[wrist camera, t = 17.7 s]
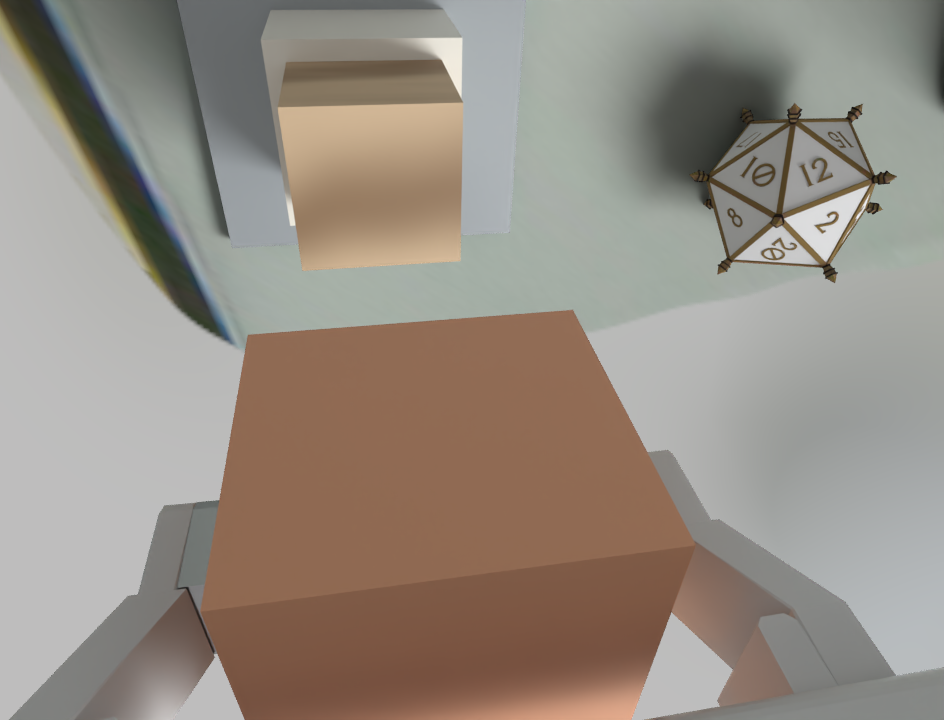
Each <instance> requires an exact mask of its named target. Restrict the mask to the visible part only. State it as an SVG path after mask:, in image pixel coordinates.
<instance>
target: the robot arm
mask: <svg viewBox="0 0 944 720" xmlns="http://www.w3.org/2000/svg"><path fill="white" fill-rule="evenodd" d="M647 453H648V455H649V456H650V458H651V460H652V462H653V464H654V466H655V468H656V470H657V472H658V474H659V475H660V477H661V479H662V481H663V483H664V485H665V487H666V489H667V491H668V493H669V495H670V496H671V498H672V500H673V502H674V504H675V506H676V508H677V510H678V512H679V514H680V516H681V517H682V519H683V521H684V523H685V525H686V527H687V529H688V531H689V533H690V535H691V537H692V538H693V540H694V542H695V544H696V547H695V550H694V552H693V555H692V558H691V560H690V563H689V566H688V568H687V571H686V574H685V576H684V579H683V582H682V585H681V587H680V590H679V593H678V595H677V598H676V601H675V603H674V606H673V609H672V611H671V612H672V613H673V614H674V615H675V616H676V617H677V618H678V619H679V620H680V621H682V622H683V623H684V624H685V625H686V626H687V627H688V628H689V629H690V630H691V631H692V632H693V633H695V635H697V636H698V637H699V638H700V639H701V640H702V641H703V642H704V643H705V644H706V645H707V646H708V647H709V648H711V649H712V650H713V651H714V652H715V653H716V654H717V655H718V656H719V657H720V658H721V659H722V660H723V661H724V662H725V663H726V664H728V665H729V666H730V667H731V668H732V669H733V671H732V673H731V675H730V677H729V679H728V681H727V683H726V685H725V686H724V688H723V690H722V692H721V694H720V697H719V698H718V703H719V705H720V707H715V708H709V709H704V710H698V711H692V712H686V713H681V714H675V715H670V716H663V717H658V718H653V719H646V720H944V667H943V668H937V669H931V670H926V671H920V672H914V673H909V674H903V675H897V676H896V675H895V674H894V672H893V671H892V670H891V668H890V666H889V665H888V663H887V662H886V660H885V659H884V657H883V656H882V655H881V653H880V652H879V650H878V649H877V647H876V646H875V644H874V643H873V641H872V640H871V639H870V637H869V636H868V634H867V633H866V631H865V630H864V628H863V627H862V625H861V624H860V622H859V621H858V620H857V618H856V617H855V615H854V614H853V612H852V611H851V609H850V608H849V607H848V605H847V604H846V602H845V601H843V600H842V599H840V598H839V597H837V596H835V595H834V594H832V593H831V592H829V591H828V590H826V589H825V588H823V587H821V586H820V585H819V584H817V583H816V582H814V581H812V580H811V579H809V578H808V577H806V576H805V575H803V574H802V573H800V572H799V571H797V570H796V569H794V568H793V567H791V566H790V565H788V564H786V563H785V562H784V561H782V560H781V559H779V558H777V557H776V556H774V555H773V554H771V553H770V552H768V551H767V550H765V549H764V548H762V547H761V546H759V545H758V544H756V543H755V542H753V541H752V540H750V539H748V538H747V537H745V536H744V535H742V534H741V533H739V532H738V531H736V530H735V529H733V528H732V527H730V526H728V525H727V524H725V523H724V522H723V521H721V520H719V519H718V520H711V519H710V517H709V515H708V513H707V512H706V510H705V508H704V507H703V505H702V503H701V501H700V500H699V498H698V496H697V495H696V493H695V491H694V489H693V488H692V486H691V484H690V483H689V481H688V479H687V477H686V476H685V474H684V472H683V470H682V469H681V467H680V465H679V464H678V462H677V460H676V458H675V457H674V455H673V454H672V453H671V452H670V451H668V450H664V451H655V452H647ZM218 505H219V500H218V501H206V502H197V503H188V504H178V505H166V506H164V507H163V509H162V511H161V512H160V513H159V516H158V519H157V523H156V528H155V531H154V535H153V539H152V542H151V546H150V550H149V554H148V558H147V562H146V565H145V569H144V573H143V577H142V581H141V585H140V589H139V592H138V595H131V596H128V597H127V598H126V599H125V600H124V601H123V602H122V603H121V604H120V605H119V606H118V607H117V608H116V609H115V610H114V611H113V612H112V613H111V614H110V615H109V616H108V617H107V619H105V620H104V622H103V623H102V624H101V625H100V626H99V627H98V628H97V629H96V630H95V631H94V632H93V633H92V634H91V635H90V636H89V637H88V638H87V639H86V640H85V641H84V642H83V643H82V644H81V646H80V647H79V648H78V649H77V650H76V651H75V652H74V653H73V654H72V655H71V656H70V657H69V658H68V659H67V660H66V661H65V662H64V663H63V664H62V665H61V666H60V667H59V668H58V669H57V670H56V671H55V672H54V674H53V675H52V676H51V677H50V678H49V679H48V680H47V681H46V682H45V683H44V684H43V685H42V686H41V687H40V688H39V689H38V690H37V691H36V692H35V693H34V694H33V695H32V696H31V697H30V699H29V700H28V701H27V702H26V703H25V704H24V705H23V706H22V707H21V708H20V709H19V710H18V711H17V712H16V713H15V714H14V715H13V716H12V717H11V718H10V719H9V720H173V719H174V718H175V717H176V715H177V713H178V712H179V710H180V709H181V707H182V706H183V704H184V703H185V701H186V700H187V698H188V697H189V695H190V694H191V692H192V691H193V689H194V688H195V686H196V685H197V683H198V682H199V680H200V679H201V677H202V676H203V674H204V673H205V671H206V669H207V668H208V667H209V665H210V664H211V662H212V661H213V659H214V654H217V651H216V649H215V647H214V644H213V642H212V639H211V637H210V634H209V632H208V630H207V627H206V625H205V622H204V620H203V618H202V615H201V613H200V610H201V604H202V598H203V592H204V586H205V581H206V575H207V569H208V563H209V557H210V552H211V546H212V540H213V534H214V529H215V523H216V517H217V511H218Z"/></svg>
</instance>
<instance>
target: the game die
mask: <svg viewBox="0 0 944 720" xmlns="http://www.w3.org/2000/svg"><path fill="white" fill-rule="evenodd" d="M862 105H863V104H861V105H858V106H856V107H852V108H851V111H849V112H848V116H847V117H846V118H831V119H798V118H799V117H800V116H801V114H800V112H801V111H802V109H800V108H799V107H798V106H797V105H796V104H794V105H793V106H792V107H791V108H790V109H788V110H787V111H788V114H787V116H788V119H780V120H759V121H754V120H753V114H752V113H751V110H750V111H749V110H747V109H744V108H743V110H742V116H741V117H740V118H742V119H743V122H745V123H747V126H746V127H745V129H744V130H743V131H742V132H741V134H740V135H739V136H738V138H737V139H736V140H735V141H734V143H733V144H732V145H731V146H730V148H729V149H728V150H727V151H726V153H725V154H724V155H723V157H722V158H721V159H720V160H719V162H718V163H717V164H716V165H715V167H714V168H713V169H712V171H711V172H710V173H709V174H706V173H704V171H702V172H701V171H700V170H698V171H697V172H694V173H692V174H690V176H691V177H692V178H693V179H694V181H697V182H698V181H699V182H703V181H706V183H707V187H708V190H709V194H710V198H711V199H707V200H706V202H705V203H704V204H703V205H705V206H706V207H707V208H709V209H711V208H714V212H715V216H716V219H717V223H718V227H719V230H720V234H721V238H722V241H723V245H724V248H725V252H726V256H727V258H726V259H725V260H724V261H721V264H720V265H719V264H718V274H720V273H723V272H727V270H728V268H730V265H731V263H732V262H742V263H758V264H773V265H789V266H805V267H820V268H823V269H824V272H823V274H825V276H826V277H825V279H828V280H830V281H832V282H834V283H835V280H836V275H837V272H835V270H834V269H835V268H832V267H831V266H830V263H831V262H832V260H833V258H834V257H835V255H836V254H837V252H838V251H839V249H840V248H841V246H842V245H843V243H844V242H845V240H846V239H847V237H848V236H849V234H850V233H851V231H852V230H853V228H854V227H855V225H856V224H857V222H858V221H859V219H860V218H861V216H862V215H863V213H864V212H865V210H866V211H867V212H868V213H872V214H875V213H876V212H878V211H881V210H883V209H882V208H881V207H880V206H879V204H878V203H871V202H870V203H869V200H870V197H871V194H872V192H873V189H874V186H875V183H878V185H880V184H890V182H891V181H892V180H893V179H894V178H896V177H897V176H895V175H892V174H890V173H889V172H888V171H886V172H885V173H882V172H880V173H879V174H878V175H874V172H873V170H872V168H871V166H870V163H869V161H868V159H867V157H866V154H865V152H864V150H863V148H862V145H861V143H860V141H859V139H858V136H857V134H856V132H855V130H854V127H853V125H852V122H853V121H854V120H855V119H858V117H859V115H862V113H861V112H862ZM718 274H717V275H718Z"/></svg>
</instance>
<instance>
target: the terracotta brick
mask: <svg viewBox="0 0 944 720" xmlns="http://www.w3.org/2000/svg"><path fill="white" fill-rule="evenodd" d="M695 547H696V544H695V542H694V540H693V538H692V537H691V535H690V533H689V531H688V529H687V527H686V525H685V523H684V521H683V519H682V517H681V516H680V514H679V512H678V510H677V508H676V506H675V504H674V502H673V500H672V498H671V496H670V495H669V493H668V491H667V489H666V487H665V485H664V483H663V481H662V479H661V477H660V475H659V474H658V472H657V470H656V468H655V466H654V464H653V462H652V460H651V458H650V456H649V455H648V453H647V451H646V449H645V447H644V445H643V443H642V441H641V439H640V437H639V435H638V434H637V432H636V430H635V428H634V426H633V424H632V422H631V420H630V418H629V416H628V414H627V413H626V411H625V409H624V407H623V405H622V403H621V401H620V399H619V397H618V396H617V394H616V392H615V390H614V388H613V386H612V384H611V382H610V380H609V378H608V376H607V374H606V372H605V371H604V369H603V367H602V365H601V363H600V361H599V359H598V357H597V355H596V354H595V351H594V350H593V348H592V346H591V344H590V342H589V340H588V338H587V336H586V334H585V332H584V331H583V329H582V327H581V325H580V323H579V321H578V319H577V317H576V315H575V313H574V311H573V310H567V311H554V312H541V313H528V314H515V315H502V316H489V317H476V318H462V319H449V320H436V321H423V322H410V323H397V324H384V325H371V326H358V327H345V328H332V329H319V330H305V331H292V332H279V333H266V334H253V335H248V338H247V343H246V349H245V355H244V361H243V367H242V372H241V378H240V384H239V390H238V395H237V402H236V407H235V413H234V419H233V424H232V430H231V437H230V442H229V447H228V453H227V459H226V465H225V471H224V477H223V483H222V488H221V494H220V500H219V505H218V511H217V517H216V523H215V529H214V534H213V540H212V546H211V552H210V557H209V563H208V569H207V575H206V581H205V586H204V592H203V598H202V604H201V610H200V613H201V615H202V618H203V620H204V622H205V625H206V627H207V630H208V632H209V634H210V637H211V639H212V642H213V644H214V647H215V649H216V651H217V654H218V656H219V659H220V661H221V663H222V666H223V668H224V671H225V673H226V675H227V678H228V680H229V683H230V685H231V688H232V690H233V692H234V695H235V697H236V700H237V702H238V704H239V707H240V709H241V712H242V714H243V716H244V719H245V720H631V719H632V717H633V714H634V711H635V708H636V705H637V703H638V700H639V697H640V695H641V692H642V690H643V687H644V684H645V681H646V679H647V676H648V673H649V671H650V668H651V665H652V663H653V660H654V657H655V655H656V652H657V649H658V646H659V644H660V641H661V638H662V636H663V633H664V630H665V628H666V625H667V622H668V619H669V617H670V614H671V611H672V609H673V606H674V603H675V601H676V598H677V595H678V593H679V590H680V587H681V585H682V582H683V579H684V576H685V574H686V571H687V568H688V566H689V563H690V560H691V558H692V555H693V552H694V550H695Z"/></svg>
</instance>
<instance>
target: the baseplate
mask: <svg viewBox="0 0 944 720" xmlns="http://www.w3.org/2000/svg"><path fill="white" fill-rule="evenodd" d="M177 4H178V9H179V13H180V18H181V22H182V27H183V31H184V35H185V40H186V44H187V49H188V53H189V58H190V62H191V67H192V71H193V76H194V80H195V85H196V89H197V94H198V98H199V103H200V107H201V111H202V116H203V120H204V125H205V129H206V134H207V138H208V143H209V147H210V152H211V156H212V161H213V165H214V170H215V174H216V178H217V183H218V187H219V192H220V196H221V201H222V205H223V210H224V214H225V219H226V223H227V228H228V232H229V237H230V241H231V245H232V248H240V247H258V246H276V245H294V244H298V238H297V231H296V225H295V218H294V212H293V205H292V199H291V192H290V186H289V179H288V172H287V166H286V159H285V153H284V146H283V140H282V133H281V127H280V120H279V114H278V102H279V97H280V92H281V86H282V81H283V76H284V71H285V65H286V62H320V61H385V60H442V61H443V63H444V65H445V67H446V69H447V71H448V73H449V75H450V77H451V79H452V81H453V83H454V85H455V87H456V89H457V91H458V93H459V95H460V97H461V99H462V101H463V146H462V199H461V235H474V234H492V233H510V222H511V208H512V194H513V179H514V165H515V150H516V136H517V122H518V107H519V93H520V79H521V64H522V50H523V36H524V21H525V7H526V0H177Z"/></svg>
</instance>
